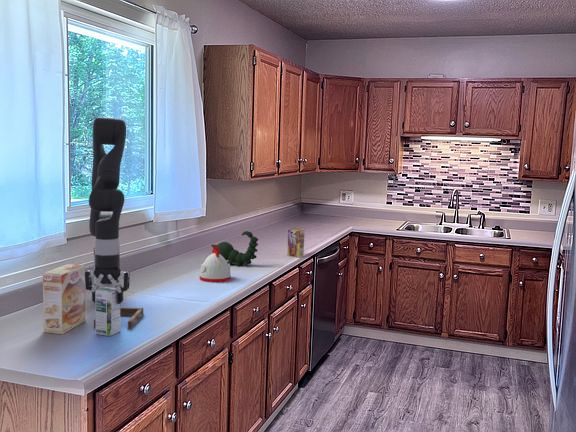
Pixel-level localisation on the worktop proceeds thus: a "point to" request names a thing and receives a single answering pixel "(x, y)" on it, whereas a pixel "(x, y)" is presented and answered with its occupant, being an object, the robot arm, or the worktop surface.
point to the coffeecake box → (64, 298)
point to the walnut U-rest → (134, 312)
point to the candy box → (296, 242)
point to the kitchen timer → (215, 268)
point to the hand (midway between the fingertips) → (107, 303)
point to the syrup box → (107, 311)
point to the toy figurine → (234, 255)
